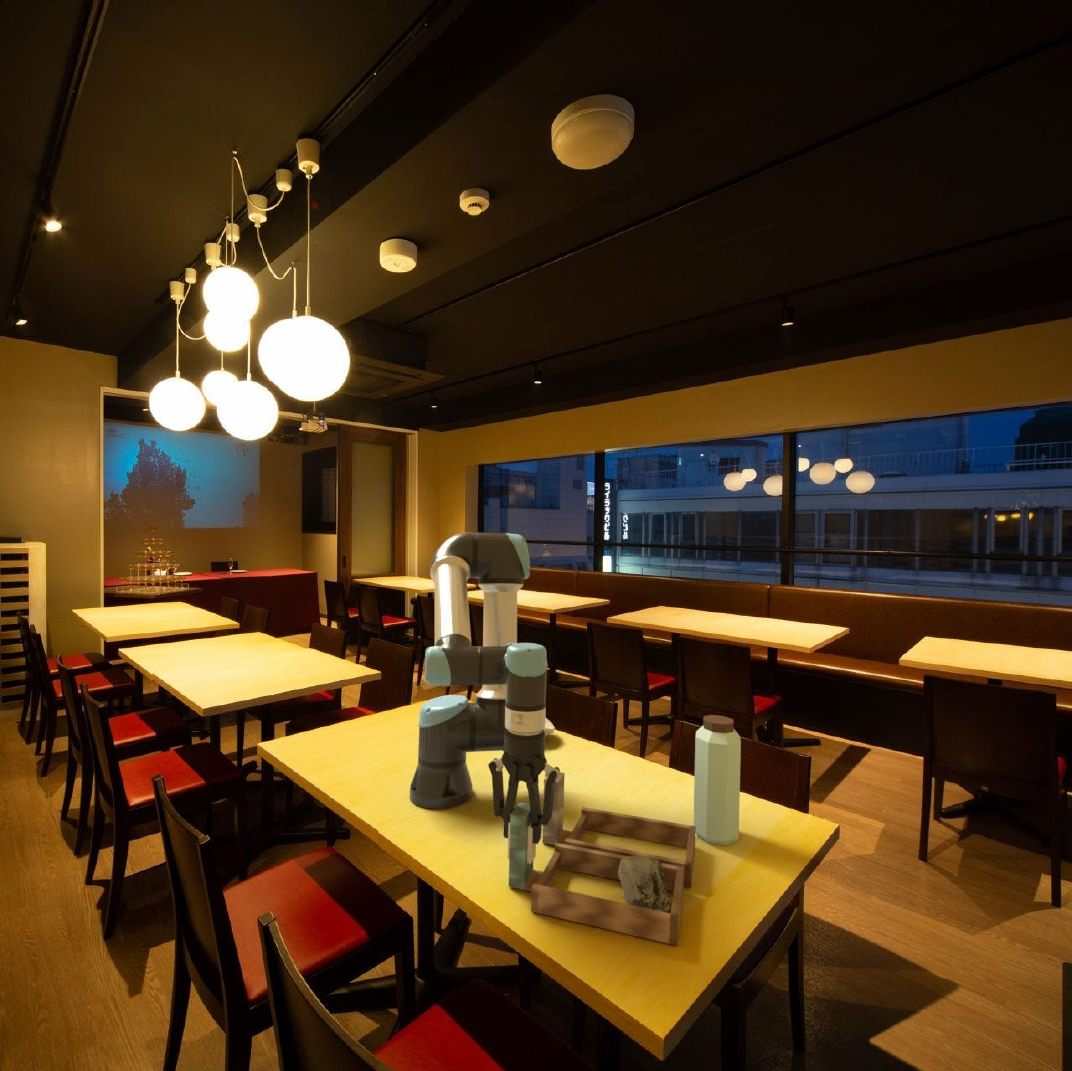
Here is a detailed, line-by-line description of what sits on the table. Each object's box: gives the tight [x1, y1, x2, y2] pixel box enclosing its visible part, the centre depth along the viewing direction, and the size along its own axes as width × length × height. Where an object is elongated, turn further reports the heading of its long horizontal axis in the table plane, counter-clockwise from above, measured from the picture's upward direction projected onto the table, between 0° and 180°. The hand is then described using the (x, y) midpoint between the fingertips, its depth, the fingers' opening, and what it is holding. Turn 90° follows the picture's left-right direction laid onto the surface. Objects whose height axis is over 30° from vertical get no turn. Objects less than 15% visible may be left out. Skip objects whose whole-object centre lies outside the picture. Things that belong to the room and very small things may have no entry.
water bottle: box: [692, 714, 742, 846], centre depth 125 cm, size 10×10×25 cm
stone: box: [618, 855, 672, 913], centre depth 99 cm, size 10×10×10 cm
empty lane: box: [542, 771, 696, 888], centre depth 117 cm, size 30×15×13 cm, turn 72°
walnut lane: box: [508, 802, 685, 946], centre depth 102 cm, size 30×15×13 cm, turn 72°
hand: (521, 857), depth 106 cm, fingers closed on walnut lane, 3 cm apart
